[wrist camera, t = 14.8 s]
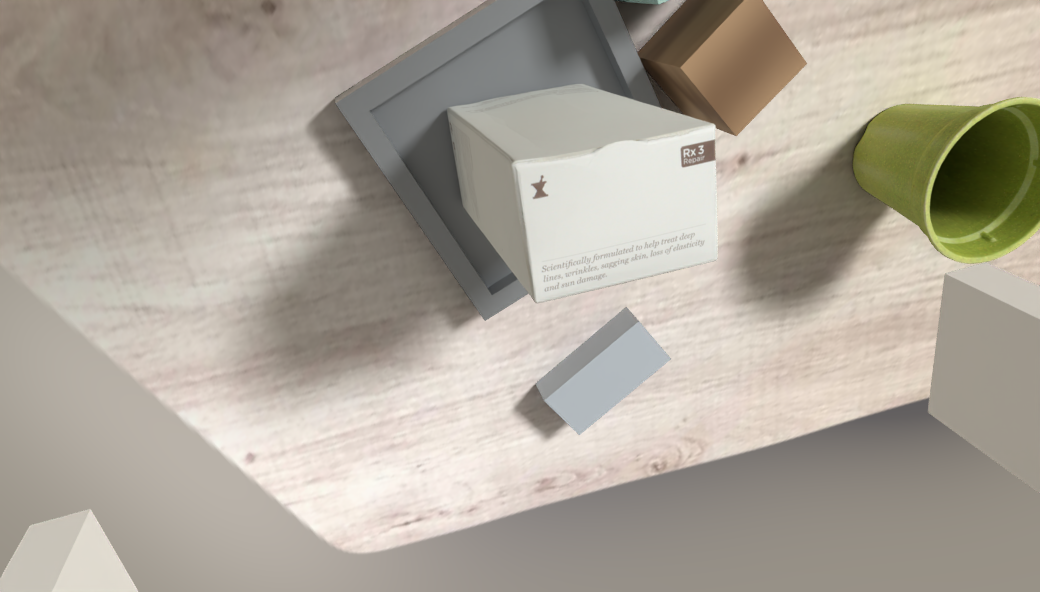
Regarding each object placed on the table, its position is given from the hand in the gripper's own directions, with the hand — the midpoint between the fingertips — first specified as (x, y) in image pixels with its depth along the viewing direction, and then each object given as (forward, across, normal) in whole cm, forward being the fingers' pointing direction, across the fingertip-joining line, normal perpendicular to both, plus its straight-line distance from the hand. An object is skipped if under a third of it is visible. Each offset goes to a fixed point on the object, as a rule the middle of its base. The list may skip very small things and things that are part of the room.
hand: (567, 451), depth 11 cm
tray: (+31, +6, -3) cm, 32 cm away
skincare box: (+30, +6, -3) cm, 31 cm away
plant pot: (+31, +31, -9) cm, 45 cm away
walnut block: (+31, +17, 0) cm, 35 cm away
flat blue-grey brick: (+31, +9, -19) cm, 38 cm away
